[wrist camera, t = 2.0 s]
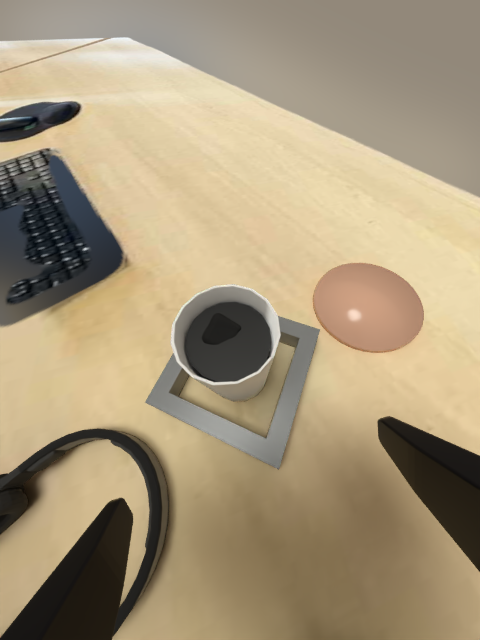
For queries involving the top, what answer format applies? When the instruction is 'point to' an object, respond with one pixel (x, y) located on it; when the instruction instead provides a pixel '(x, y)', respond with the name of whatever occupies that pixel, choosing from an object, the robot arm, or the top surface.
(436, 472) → the robot arm
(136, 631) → the top surface
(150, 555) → the headset
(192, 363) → the grey cup
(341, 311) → the coaster
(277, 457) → the cup holder
